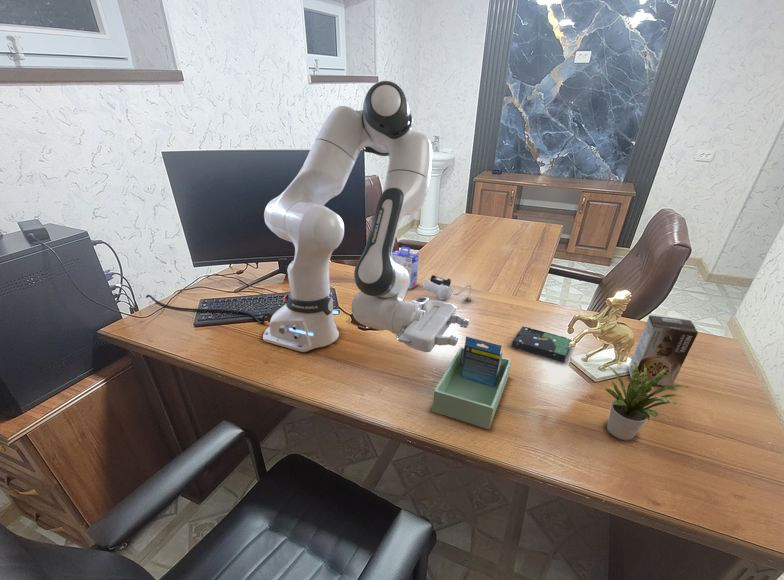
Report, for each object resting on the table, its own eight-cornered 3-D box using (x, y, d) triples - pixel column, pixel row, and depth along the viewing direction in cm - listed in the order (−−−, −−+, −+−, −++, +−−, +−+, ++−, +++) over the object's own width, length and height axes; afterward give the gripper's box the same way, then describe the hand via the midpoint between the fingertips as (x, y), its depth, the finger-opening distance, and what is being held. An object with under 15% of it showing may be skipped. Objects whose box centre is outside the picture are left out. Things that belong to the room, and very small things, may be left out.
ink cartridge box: (417, 284, 150) (419, 248, 142) (411, 290, 146) (412, 252, 138) (395, 279, 154) (396, 243, 146) (388, 284, 150) (388, 247, 142)
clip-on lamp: (473, 302, 144) (430, 283, 149) (479, 287, 141) (435, 267, 145) (463, 312, 135) (418, 291, 140) (470, 296, 131) (423, 275, 136)
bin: (489, 429, 85) (493, 408, 82) (432, 411, 90) (434, 390, 86) (507, 379, 100) (511, 359, 97) (458, 365, 105) (460, 346, 102)
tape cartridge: (498, 379, 99) (506, 338, 92) (494, 388, 96) (502, 346, 89) (464, 369, 103) (470, 329, 96) (459, 377, 100) (465, 336, 93)
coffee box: (665, 373, 103) (692, 319, 94) (671, 388, 97) (700, 332, 89) (626, 366, 105) (649, 313, 96) (631, 380, 100) (655, 326, 91)
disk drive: (510, 349, 113) (564, 364, 106) (512, 340, 111) (567, 355, 104) (520, 333, 120) (571, 346, 113) (522, 325, 118) (574, 338, 112)
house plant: (680, 454, 79) (719, 392, 70) (622, 465, 77) (653, 402, 68) (630, 408, 91) (657, 350, 82) (577, 416, 88) (599, 357, 80)
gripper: (393, 327, 90) (450, 341, 85) (425, 293, 105) (475, 304, 100) (392, 350, 93) (447, 365, 88) (423, 314, 109) (472, 325, 103)
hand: (462, 332), depth 94 cm, fingers open, 8 cm apart
